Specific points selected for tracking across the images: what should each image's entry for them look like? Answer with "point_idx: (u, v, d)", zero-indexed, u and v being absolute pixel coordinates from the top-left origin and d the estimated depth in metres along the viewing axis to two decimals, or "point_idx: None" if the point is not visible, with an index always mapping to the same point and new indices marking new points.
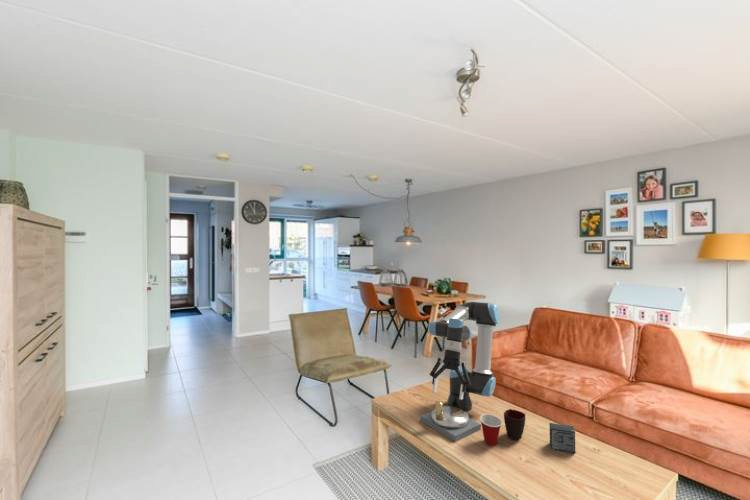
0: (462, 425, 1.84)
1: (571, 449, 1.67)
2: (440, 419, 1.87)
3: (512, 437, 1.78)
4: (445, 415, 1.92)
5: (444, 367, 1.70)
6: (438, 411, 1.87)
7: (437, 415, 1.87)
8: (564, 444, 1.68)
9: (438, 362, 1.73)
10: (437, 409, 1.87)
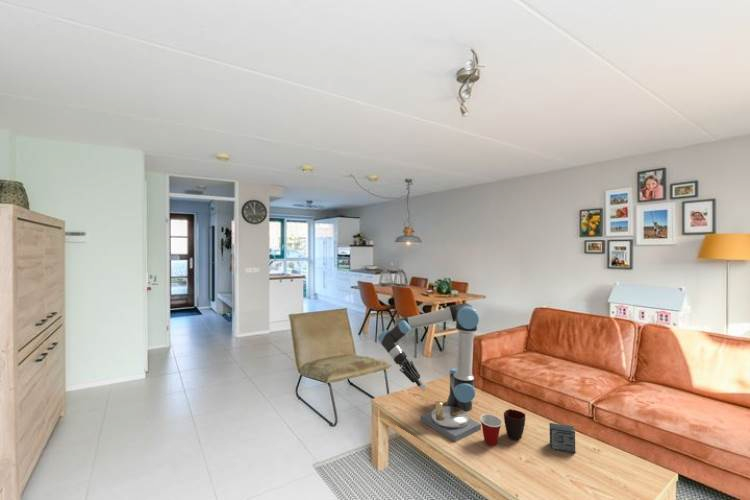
0: (462, 425, 1.84)
1: (571, 449, 1.67)
2: (440, 419, 1.87)
3: (512, 437, 1.78)
4: (445, 415, 1.92)
5: None
6: (438, 411, 1.87)
7: (437, 415, 1.87)
8: (564, 444, 1.68)
9: None
10: (437, 409, 1.87)
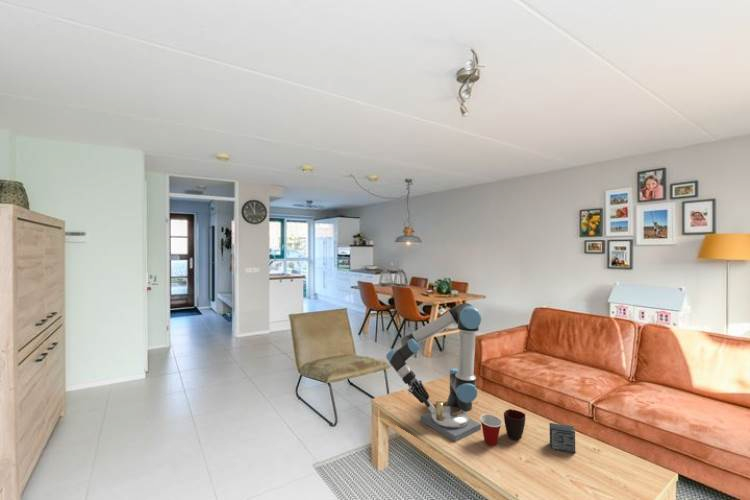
0: (462, 425, 1.85)
1: (571, 449, 1.67)
2: (440, 419, 1.87)
3: (512, 437, 1.78)
4: (445, 416, 1.92)
5: None
6: (438, 411, 1.87)
7: (437, 415, 1.87)
8: (564, 444, 1.68)
9: None
10: (437, 409, 1.87)
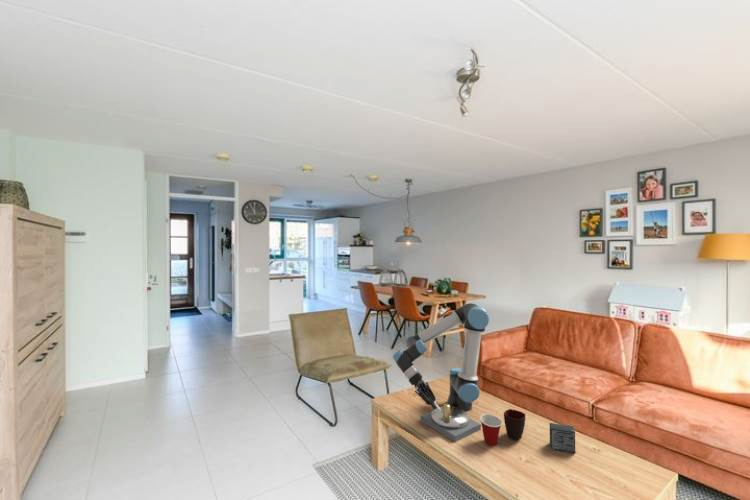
0: (467, 421, 1.88)
1: (571, 449, 1.67)
2: (449, 421, 1.85)
3: (512, 437, 1.78)
4: None
5: None
6: (447, 414, 1.84)
7: (446, 418, 1.84)
8: (564, 444, 1.68)
9: None
10: (446, 412, 1.84)
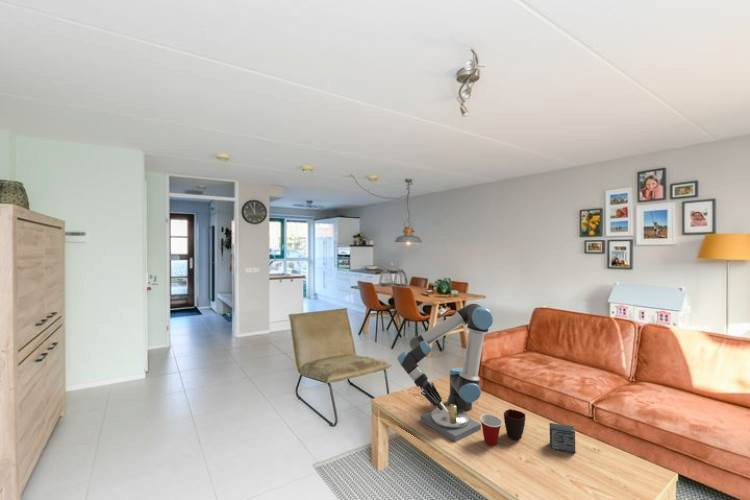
0: None
1: (571, 449, 1.67)
2: (456, 421, 1.85)
3: (512, 437, 1.78)
4: (450, 417, 1.90)
5: None
6: (455, 414, 1.83)
7: (454, 419, 1.83)
8: (564, 444, 1.68)
9: None
10: (454, 412, 1.83)
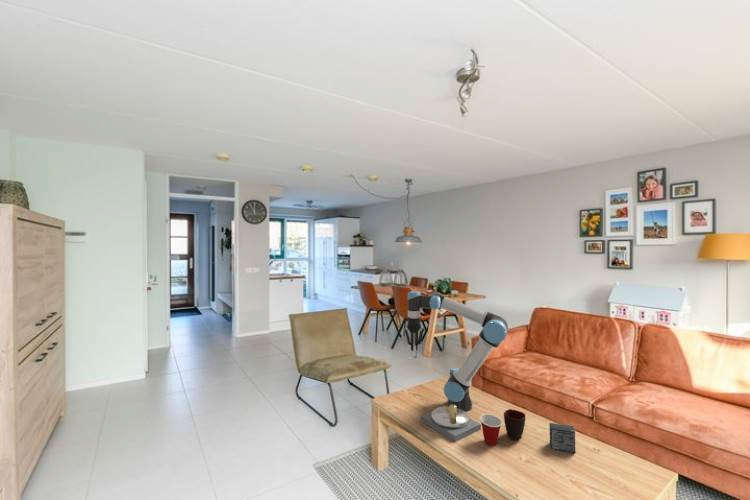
0: None
1: (571, 449, 1.67)
2: (456, 421, 1.85)
3: (512, 437, 1.78)
4: (450, 417, 1.90)
5: None
6: (455, 414, 1.83)
7: (454, 419, 1.83)
8: (564, 444, 1.68)
9: None
10: (454, 412, 1.83)
